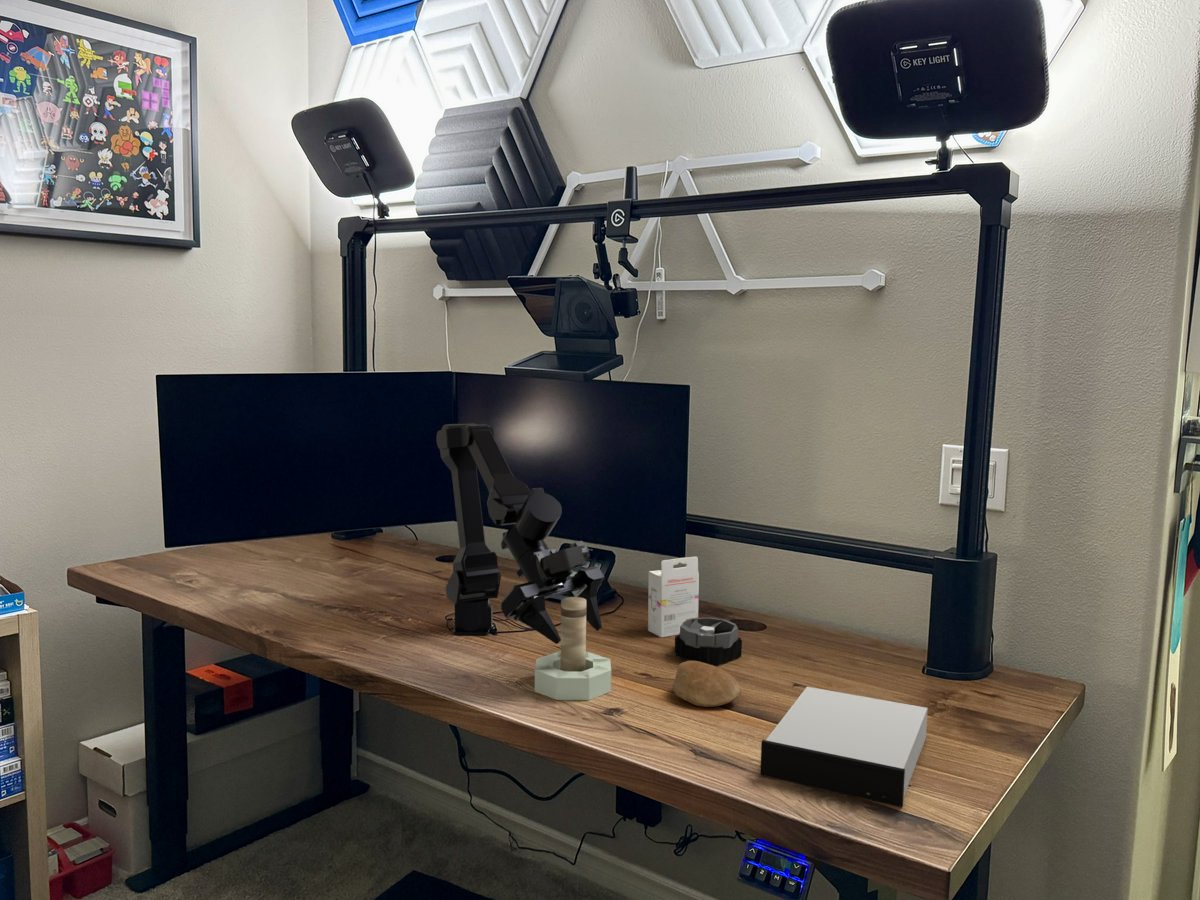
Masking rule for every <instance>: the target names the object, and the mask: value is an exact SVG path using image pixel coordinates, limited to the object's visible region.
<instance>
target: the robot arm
mask: <svg viewBox="0 0 1200 900" xmlns="http://www.w3.org/2000/svg"><path fill="white" fill-rule="evenodd" d="M436 445H437V448H438V449H439V453H440V458H441V460H442V462H443V463H444V464H445V466H446V467H447V468H448V470H449V471H450V473H451V481H452V487H453V488H452V490H453V497H454V506H455V517H456V525H457V534H458V542H459V543H458V544H459V549H458V551H457V553H456V556H455V557H454V560H453V562H452V570H453V572H452V574H451V576H450V577H449V579H448V581H447V584H446V586H445V593H446V598H447V599H448V600H449V601H451V602H453V604H454V629H453V631H452V634H453V635H480V636H481V635H488V634H489V632H490V630H491V629H492V628H493V604H492V603H490V599H498V597H499V591H500V585H501V579H502V576H501V575H502V574H501V571H500V569H499V566H498V565H499V564H498V555H497V554H496V552H495V551H491V549H490V548H489V547H488V546H487V545H486V538H485V529H484V521H483V511H482V504H481V496H480V495H481V494H480V486H479V478H478V470H479V473H480V476H481V477H482V479H483V481H484V484H485V486H486V488H487V490H488V491H487V492H488V499H487V502H486V506H487V511H488V515H489V518H490V519H491V520H492V523H494V524H495V525H496V526H508V525H511V526H510V527H508V529H507V531H505V532H504V531H503V532H502V539H501V542H500V545H501V546H500V547H501V550H506V549H508V550H509V551H510V553H511V555H512V557H513V558H514V560H515V562H516V564H517V565H518V567H519V569H518V570H517V571H516V574H517V576H518V578H519V579H520V578H523V577H525V579H526V581H527V582H525V583H519V584H516V585H514V586H513V587H512V588H511V589H510V591H508V593H507V594H506V595H505V596H504V598H503V599H501V602H500V609H501V611H502V613H503V615H504V617H505V619H511V618H513V620H514V622H517V621H519V622H521V623H522V624H524V625H526V626H528V627H530V628H531V629H533V630H534V631H536V632H537V633H539V634H541V635H542V636H543V637H545V638H547V639H548V640H550V641H551V642H552V643H554V644H556V645H557V644H559V643H561V635H560V634H559V632H558V630H557V628H556V626H555V624H554V623H553V620H552V619H551V616H550V614H549V613H548V612H547V608H546V600H545V599H549V598H553V597H557V596H560V595H564V594H567V596H568V597H580V598H584V599H586V622H588V624H589V625H590V626H591V627H592V628H593V629H594V630H595V631H597V632H599V631H600V630H601V629H603V625H602V622H601V621H602V620H601V615H600V611H599V607H598V606H599V605H598V598H597V596H598V589H599V588H600V587H601V586H602V582H603V581H604V580H605V579H606V578H605V575H604V574H603V572H602V570H601V569H600V567H597V566H589V567H586V568H582V569H579V570H578V571H577V572H576V573H575V574H574V575H573V576H572V577H571V579H567V578H568V577H570V576H571V575H572V574H573V573H574V571H573V569H575V568H578V567H580V566H581V567H584V566H587V562H586V560H587V561H588V560H589V559H590V556H591V554H590V551H589V548H588V546H587V545H586V544H585V543H584V541H583V540H580V541H579V540H578V541H574V543H570V544H569V545H568V548H564V549H560V550H558V549H556V548H555V547H554V548H549V546H548V544H547V543H546V541H545V539H547V537H548V536H549V535H550V533H551V532H552V530H553V528H554V527H555V525H557V522H558V521H559V519H560V518H561V516H562V514H563V510H562V509H563V507H562V505H561V503H560V501H558V499H556V498H555V497H554V496H552V495H551V494H549V493H546V492H545V491H544V488H543V487H535V488H529V487H528V485H527V484H526V482H523V481H522V480H520V479H518V478H517V477H515V475H514V474H513V473H512V470H511V469H510V467H509V465H508V463H507V461H506V459H505V457H504V455H503V453H502V451H501V449H500V447H499V445H498V442H497V441H496V439H495V433H494V428H493V427H492V426H491V425H488V424H476V423H475V422H473V423H451V424H449V423H448V424H443V425H442V427H441V430H438V431H437V432H436ZM490 628H491V629H490ZM488 629H489V630H488Z"/></svg>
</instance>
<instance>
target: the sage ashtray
mask: <svg viewBox="0 0 1200 900" xmlns="http://www.w3.org/2000/svg"><path fill="white" fill-rule="evenodd" d="M560 660H561V651H556V652H553V653H550V654H547V655H544V656H541V657H538V658H536V659H535V665H534V692H535V693H537V694H538V693H539V694H541V695H543V696H546V697H548V698H551V699H553V700H556V701H591V700H593V699H595V698H598V697H600V696H603V695H605V694H609V693H610V692H611V693H612V665H611V664H612V663H611V659H610V658H608V657H604V656H602V655H599V654H596V653H593V652H590V651H586V665H585V671H582V672H564V671H562V670H560Z"/></svg>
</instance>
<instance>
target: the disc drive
mask: <svg viewBox="0 0 1200 900" xmlns="http://www.w3.org/2000/svg"><path fill="white" fill-rule="evenodd" d="M928 712H929V711H928V707H925V706H919V705H912V704H907V703H901V702H896V701H895V702H894V701H890V700H885V699H879V698H875V697H874V698H873V697H868V696H863V695H857V694H852V693H846V692H840V691H834V690H829V689H828V690H827V689H822V688H817V687H812V686H806V687H805V688H804V690H803V691H802V692H801V694H800V695H799V697H798V698H797V699H796V700H795V702H793V704H792V706H791V707H790V708H789V709H788V711H787V712H786V714H784V715H783V718H781V720H780V721H779V722H778V723H777V725H776V726H775V728H774V729H773V730H772V732H770V734H769V735H768V736H767V738H766V739H762V740H761V746H760V747H761V748H760V774H759V775H760V776H763V777H768V778H773V779H777V780H781V781H786V782H789V783H790V782H791V783H794V784H798V785H803V786H807V787H813V788H816V789H821V790H825V791H829V792H834V793H837V794H838V793H839V794H843V795H846V796H851V797H855V798H859V799H864V800H869V801H873V802H876V803H881V804H882V803H883V804H886V805H891V806H895V807H899V808H903V806H904V798H905V795H906V793H907V790H908V788H909V785H910V782H911V779H912V776H913V774H914V771H915V768H916V766H917V762H918V760H919V759H920V758H919V757H920V754H921V752H922V749H923V747H924V744H925V741H926V738H927V728H928V727H927V726H928V725H927V724H928Z"/></svg>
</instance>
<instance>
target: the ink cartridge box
mask: <svg viewBox="0 0 1200 900" xmlns="http://www.w3.org/2000/svg"><path fill="white" fill-rule="evenodd" d="M660 563H661V565H660V566H661V567H660V568H661V570H649V571H648V591H647V592H648V596H647V597H648V598H647V600H648V601H647V604H648V606H647V607H648V608H647V609H648V610H647V611H648V613H647V615H648V616H647V621H648V622H647V631H648V632H650V633H652V634H654V635H655V636H657V637H659V638H667V637H673V636H680V626H681V625H682V623H683V622H685V621H687V620H689V619H691V618H699V590H700V589H699V586H700V585H699V583H700V582H699V581H700V579H699V577H700V574H699V560H698V556H689V557H680V558H679V557H678V558H672V559H663V560H661V562H660ZM679 563H680V564H681V565H685V566H683V567H675V568H674V566H676V565H679Z"/></svg>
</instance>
